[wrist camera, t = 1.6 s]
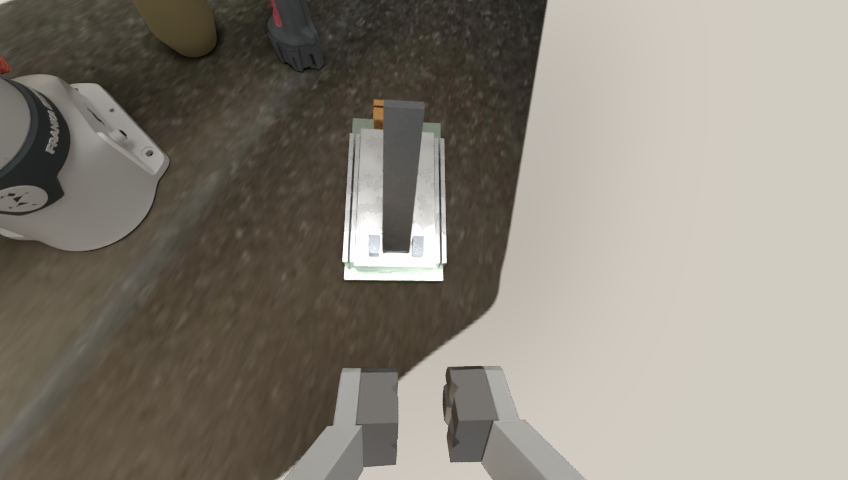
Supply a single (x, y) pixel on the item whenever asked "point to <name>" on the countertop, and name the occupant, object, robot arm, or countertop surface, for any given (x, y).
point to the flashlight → (295, 34)
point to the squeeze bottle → (180, 24)
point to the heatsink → (367, 209)
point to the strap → (400, 171)
